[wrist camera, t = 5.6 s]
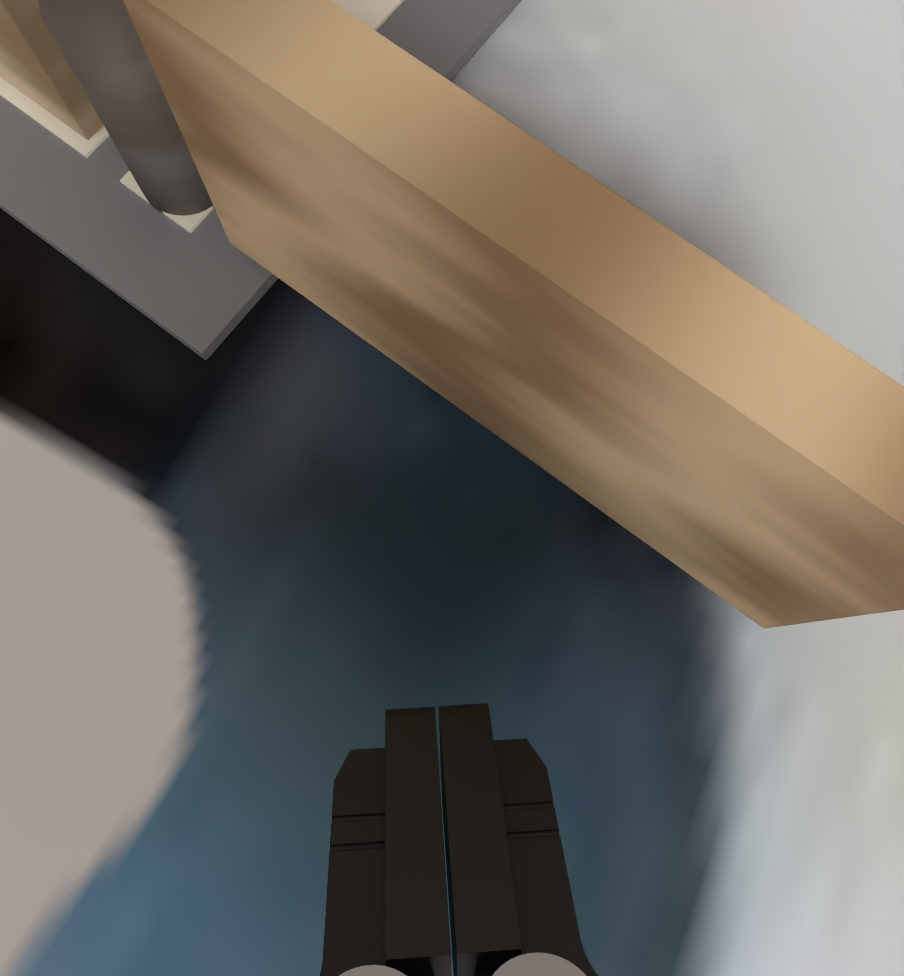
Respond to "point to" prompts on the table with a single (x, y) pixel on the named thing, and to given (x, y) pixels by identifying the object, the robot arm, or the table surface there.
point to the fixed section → (101, 89)
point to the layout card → (191, 238)
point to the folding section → (544, 305)
